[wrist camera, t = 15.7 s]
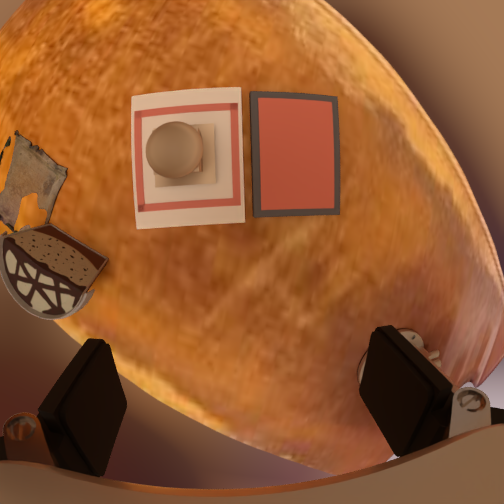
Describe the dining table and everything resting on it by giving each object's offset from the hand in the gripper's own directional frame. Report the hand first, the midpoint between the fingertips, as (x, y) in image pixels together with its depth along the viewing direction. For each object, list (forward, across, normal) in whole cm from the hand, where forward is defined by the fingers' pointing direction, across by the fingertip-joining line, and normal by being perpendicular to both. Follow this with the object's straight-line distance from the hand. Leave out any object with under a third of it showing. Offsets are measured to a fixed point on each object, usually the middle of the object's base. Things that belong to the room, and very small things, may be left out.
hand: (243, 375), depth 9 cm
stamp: (+23, +4, -9) cm, 25 cm away
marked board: (+24, +5, -9) cm, 26 cm away
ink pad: (+24, -7, -9) cm, 27 cm away
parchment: (+24, +28, -8) cm, 37 cm away
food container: (+24, +20, +2) cm, 32 cm away
